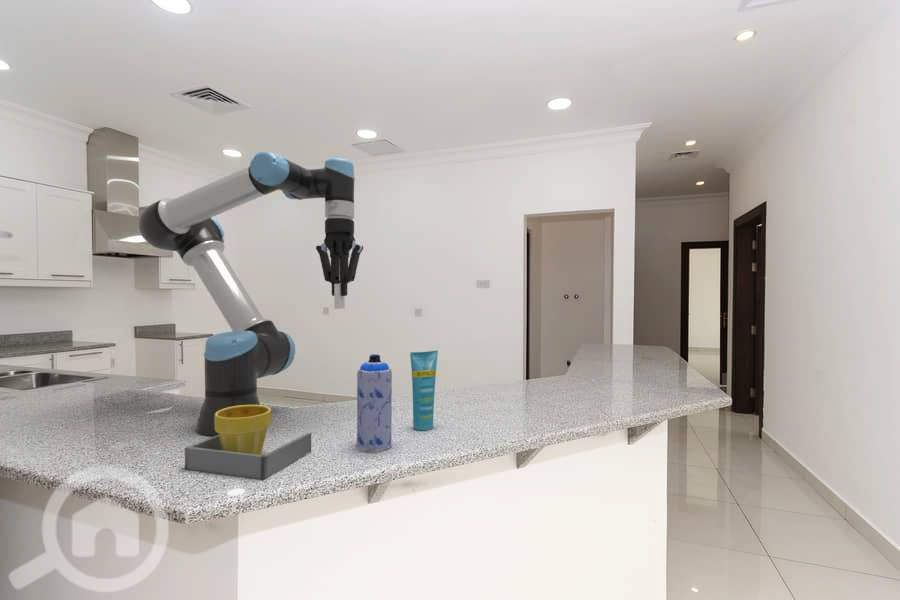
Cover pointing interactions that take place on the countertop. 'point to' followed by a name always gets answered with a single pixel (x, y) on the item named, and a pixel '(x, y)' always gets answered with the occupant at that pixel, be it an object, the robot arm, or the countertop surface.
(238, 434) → the plant pot
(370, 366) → the aerosol can
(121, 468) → the countertop surface
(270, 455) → the frame
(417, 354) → the tube
